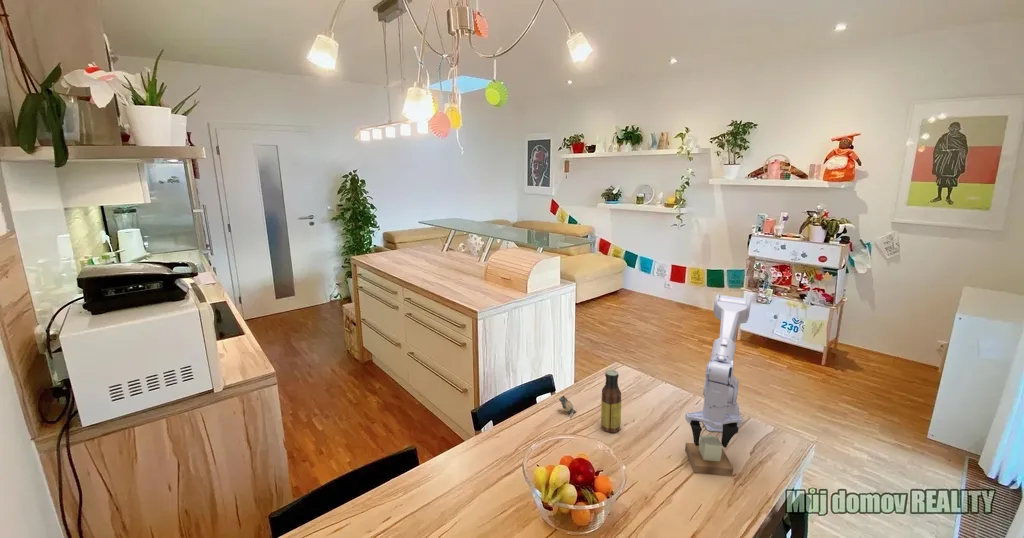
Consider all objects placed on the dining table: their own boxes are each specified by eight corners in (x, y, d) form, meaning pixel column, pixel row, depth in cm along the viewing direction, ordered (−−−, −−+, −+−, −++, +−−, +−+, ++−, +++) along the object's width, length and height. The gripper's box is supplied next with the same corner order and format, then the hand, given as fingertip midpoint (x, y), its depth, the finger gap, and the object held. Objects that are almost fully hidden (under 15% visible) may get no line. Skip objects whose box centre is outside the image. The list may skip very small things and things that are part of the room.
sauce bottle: (621, 424, 142) (625, 369, 137) (619, 435, 136) (623, 378, 131) (601, 420, 144) (604, 366, 139) (598, 431, 138) (601, 375, 133)
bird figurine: (555, 414, 147) (556, 398, 146) (562, 408, 151) (563, 392, 150) (570, 419, 144) (571, 402, 143) (576, 412, 149) (577, 396, 148)
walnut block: (719, 454, 128) (721, 445, 127) (731, 478, 118) (733, 468, 118) (684, 451, 129) (685, 442, 129) (693, 474, 120) (695, 465, 119)
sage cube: (714, 451, 125) (717, 436, 124) (720, 461, 121) (722, 446, 119) (698, 449, 125) (700, 434, 124) (703, 460, 121) (705, 444, 120)
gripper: (692, 408, 116) (687, 452, 119) (749, 411, 114) (742, 455, 118) (685, 394, 123) (680, 436, 126) (738, 397, 121) (732, 439, 125)
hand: (709, 444), depth 122 cm, fingers open, 7 cm apart
